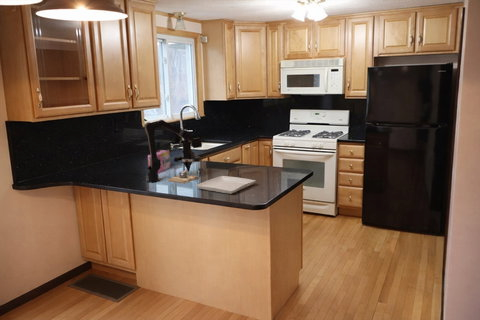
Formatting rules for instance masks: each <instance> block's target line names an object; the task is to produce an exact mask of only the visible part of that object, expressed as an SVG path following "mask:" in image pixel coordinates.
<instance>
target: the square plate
mask: <svg viewBox="0 0 480 320" xmlns="http://www.w3.org/2000/svg"><path fill="white" fill-rule="evenodd" d="M254 183H256V179H251V178H243V177H239V176H238V177H236V176H227V175H220V176H216V177H214V178H210V179H207V180H205V181H203V182H201V183H198V184H196V185H195V186H196V187H197V188H199V189H201V190H205V191H209V192H217V193H222V194H229V195H231V194H234V193H237V192H238V191H240V190H243V189H246V188H248V187H249V186H252V185H254Z"/></svg>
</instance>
